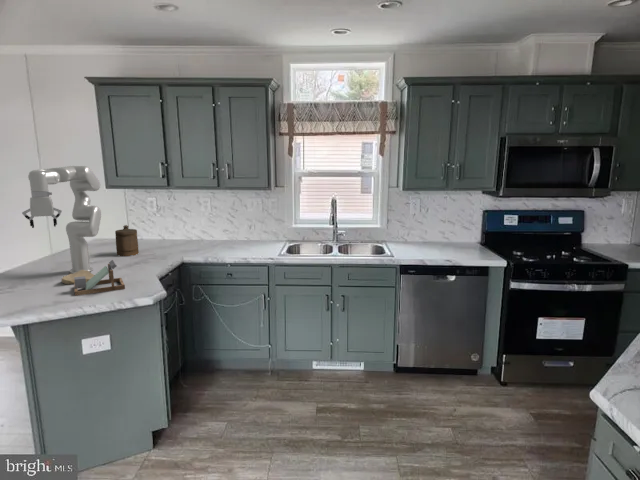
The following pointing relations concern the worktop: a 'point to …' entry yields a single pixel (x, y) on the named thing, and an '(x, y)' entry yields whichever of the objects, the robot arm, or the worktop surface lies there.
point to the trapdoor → (99, 275)
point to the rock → (70, 278)
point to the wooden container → (126, 241)
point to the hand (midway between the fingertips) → (44, 226)
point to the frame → (110, 280)
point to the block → (80, 282)
